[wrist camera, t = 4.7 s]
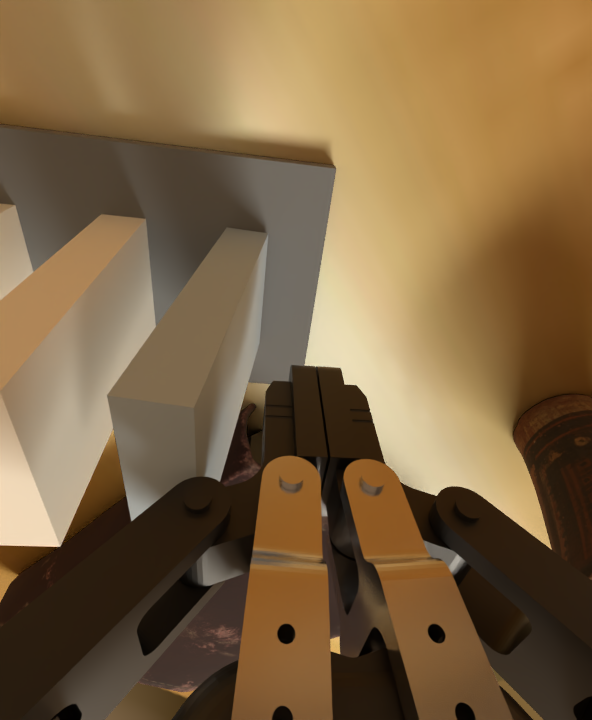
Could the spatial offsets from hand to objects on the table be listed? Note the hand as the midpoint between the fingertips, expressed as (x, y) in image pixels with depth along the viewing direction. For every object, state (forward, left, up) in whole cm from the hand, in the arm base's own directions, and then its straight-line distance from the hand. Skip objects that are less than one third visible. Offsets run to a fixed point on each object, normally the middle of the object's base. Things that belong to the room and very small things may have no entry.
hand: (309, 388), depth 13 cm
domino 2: (0, -2, -6) cm, 6 cm away
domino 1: (0, -7, -6) cm, 9 cm away
